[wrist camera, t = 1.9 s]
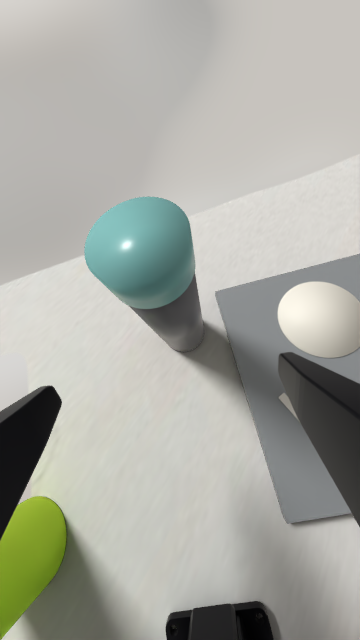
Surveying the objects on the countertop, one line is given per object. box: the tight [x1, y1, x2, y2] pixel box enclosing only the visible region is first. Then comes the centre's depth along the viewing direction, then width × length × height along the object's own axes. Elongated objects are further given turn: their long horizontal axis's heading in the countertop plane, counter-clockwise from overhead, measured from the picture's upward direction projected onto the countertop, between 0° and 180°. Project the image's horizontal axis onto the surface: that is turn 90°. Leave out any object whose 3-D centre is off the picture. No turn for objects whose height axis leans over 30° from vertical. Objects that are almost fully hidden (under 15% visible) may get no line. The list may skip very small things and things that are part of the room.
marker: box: [85, 197, 204, 352], centre depth 14 cm, size 4×4×13 cm
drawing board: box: [215, 254, 360, 524], centre depth 16 cm, size 18×14×1 cm
